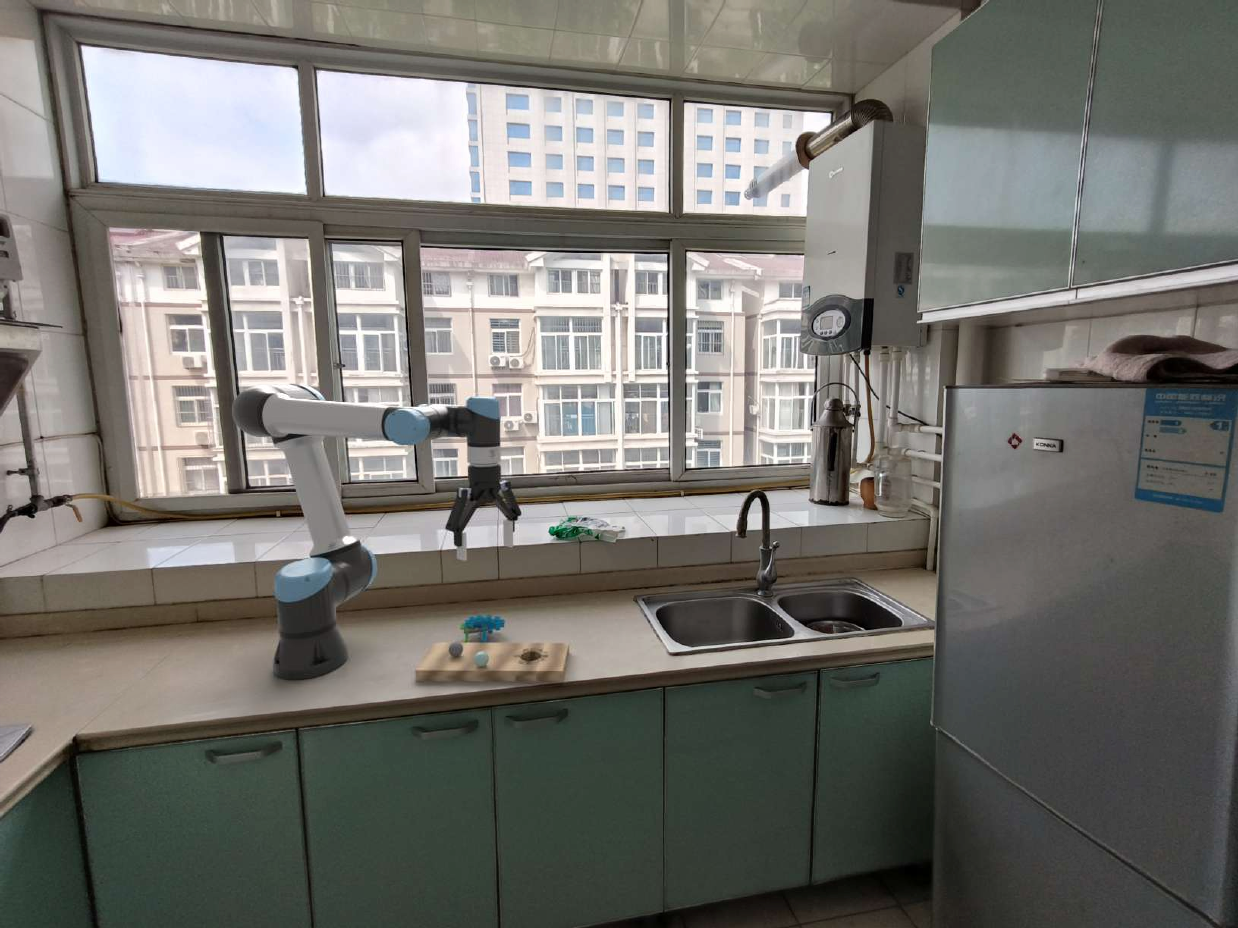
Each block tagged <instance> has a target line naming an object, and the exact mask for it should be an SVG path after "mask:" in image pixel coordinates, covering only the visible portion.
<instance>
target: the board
mask: <svg viewBox="0 0 1238 928" xmlns="http://www.w3.org/2000/svg"><path fill="white" fill-rule="evenodd" d="M452 643H453V642H435V643H434V644H433V645H432V646H431V648H430V649H429V651H428V652H427V653H426V654H425V656H424V657H423V659H422V660H421V662H420V663H419V664H418V665H417V667H416V668H415V671H414V673H415V674H414V675H415V682H509V683H510V682H513V683H514V682H515V683H516V682H517V683H518V682H522V683H523V682H526V683H528V682H529V683H531V682H539V683H544V682H545V683H549V682H550V683H555V682H556V683H563V682H564V679H565V674H566V668H567V664H568V659H569V656H570V643H569V642H486V643H482V642H467V643H465V642H460V643H461V644H462V645H463V652H462V654H461V655H459V656H457V657H454V656H451V655H450V653H449V646H450V645H451V644H452ZM481 651H483V652H486V653H487V654H488V656H489V661H488V663H487V665H485V666H483V667H479V666H477V665H476V664H475V662H474V657H475V655H476V654H477V653H478V652H481Z"/></svg>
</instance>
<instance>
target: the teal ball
mask: <svg viewBox="0 0 1238 928" xmlns="http://www.w3.org/2000/svg"><path fill="white" fill-rule="evenodd" d="M488 661H489V656H488V654H487V653H486V652H483V651H481V652H478V653H477V654H476V655H475V657H474V662H475V664H476V665H477V666H479V667H483V666H485V665H487V663H488Z"/></svg>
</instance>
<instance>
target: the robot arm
mask: <svg viewBox="0 0 1238 928" xmlns="http://www.w3.org/2000/svg"><path fill="white" fill-rule="evenodd" d="M500 408H501V407H500V401H499V399H498V398H497V397H495V396H483V395H482V396H477V395H476V396H468V397H466V399H465V403H464V404H443V403H442V404H441V403H425V404H424V403H423V404H419V405H417V406H399V405H397V406H396V405H394V406H393V405H381V404H369V403H355V402H339V401H330V400H329V401H327V399H325V397H324V396H323V395H322V394H321V393H320V392H319V391H318V390H316V389H315V388H313V387H310V386H307V385H300V384H297V383H296V384H294V383H291V384H281V385H280V384H277V385H275V384H274V385H257V386H256V385H255V386H251V387H248V388H246V389H244V390H243V391H241V392H240V393H239V394H238V395H237V396H236V397H235V398H234V401H233V402H232V407H231V414H232V415H231V416H232V419H233V421H234V423H235V424H236V425H235V426H237V427H238V428H239V429H240V430H241V431H243V432H244V433H246V434H247V435H250V436H253V437H258V438H269V437H271V440H272V443H273V446H274V447H275V448H277V449H279V450H281V451H282V452H283V454H284V457H285V460H286V464H287V466H288V470H289V472H290V476H291V479H292V482H293V485H294V488H295V491H296V494H297V498H298V501H299V503H300V506H301V510H302V512H303V516H304V519H305V523H306V524H307V529H308V531H309V534H310V538H311V541H312V544H313V545H312V548H311V550H310V551H309V553H308V555H309V557H308V558H303V559H301V560H295V561H294V562H293V561H292V562H291V563H289V564H286V565H284V566H283V567H281V568H280V569H279V570H278V571H277V572H276V573H275V574H276V575H275V576H274V581H273V583H274V588H273V595H274V598H275V607H276V608H275V609H276V616H277V625H278V633H279V634H278V636H279V638H278V641H277V642H278V643H277V645H276V649H275V654H274V658H273V661H272V666H273V674H274V675H275V676H276V677H278V678H280V679H284V680H294V681H295V680H303V679H304V680H305V679H310V678H314V677H315V678H316V677H318V676H322V675H324V674H327V673H330V672H333V671H334V670H336V669H337V668H339V667H341V666H342V665H343V664H345V662H346V661H347V660H348V658H349V657H348V656H349V653H348V646H347V643H346V641H345V640H344V637H343V635H342V633H341V631H340V629H339V627H338V623H337V611H336V608H337V607H338V606H340V605H341V604H343V603H345V602H346V601H348V600H349V599H351V598H353V597H355V596H357V595H359V594H361V593H362V592H364V591H365V590H366V588H368V587H369V586H370V585H372V583H373V582H374V580H375V578H376V576H377V572H378V571H377V570H378V563H377V559H376V556H375V554H374V552H372V550H371V549H368V547H367V546H364V544H363V545H362V543H361V540H360V537H358V536H356V535H354V534H352V533H351V531H350V528H349V524H348V521H347V518H346V514H345V511H344V509H343V505H342V502H341V498H340V495H339V492H338V489H337V486H336V482H335V480H334V476H333V473H332V469H331V465H330V464H329V459H328V456H327V454H326V450H325V447H324V444H323V441H324V439H325V437H330V438H331V437H334V438H345V439H346V438H347V439H357V440H358V439H359V440H370V441H372V440H373V441H382V442H383V441H384V442H393V443H394V444H396V445H398V446H415V445H418V444H420V443H425V442H428V441H433V440H437V439H442V438H463V439H464V438H466V454H467V455H466V456H467V457H466V460H467V461H466V462H467V463H468V465H467V480H468V482H469V483H468V484H469V486H468V487H466V488H463V487H457V488H456V498H455V500H454V503H453V506H452V508H451V510H450V514H449V517H448V519H447V522H446V524H445V527H444V529H445V530H446V531H449V532H452V533H453V545H454V546H455V547H456V559H457V560H460V561H463V562H465V561H467V560H468V556H467V555H468V554H467V553H468V550H467V546H468V544H467V542H468V541H467V532H466V531H464V530H465V529H466V527H467V525H469V523H470V520H471V519H472V517H473V515H474V514H475V512H476V511H477V509H478V508H480V507H481V506H483V505H484V506H485V505H486V504H494V505H495V506H496V508H497V509H498V510H499V511H500V512H501V514H502V515H503V516H504V517H505V519H503V521H502V524H503V525H502V527H503V528H502V530H503V535H502V536H503V537H502V539H503V546H504V547H508V548H514V533H515V531H516V528H515V527H516V524H515V523H516V522H517V521H518V519H519V517H521V516H522V511H521V508H520V506H519V503H518V502H517V500H516V497H515V495H514V492H513V489H512V484H511V481H509V480H504V479H502V465H500V463H501V461H502V457H501V456H502V455H501V454H502V450H501V448H502V447H501V419H502V418H501V417H502V415H501V409H500ZM501 479H502V480H501ZM500 491H501V493H502V495H503V497H504V498H503V497H502V496H501V495H500ZM515 521H516V522H515Z"/></svg>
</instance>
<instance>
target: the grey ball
mask: <svg viewBox="0 0 1238 928" xmlns="http://www.w3.org/2000/svg"><path fill="white" fill-rule="evenodd" d="M451 643H452V644H451V645H450V646H449V653H450V655H451V656H454V657H457V656H459V655H461V654H462V652H463V645H462V644H461V643H462V642H459V641H454V642H451Z"/></svg>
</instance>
